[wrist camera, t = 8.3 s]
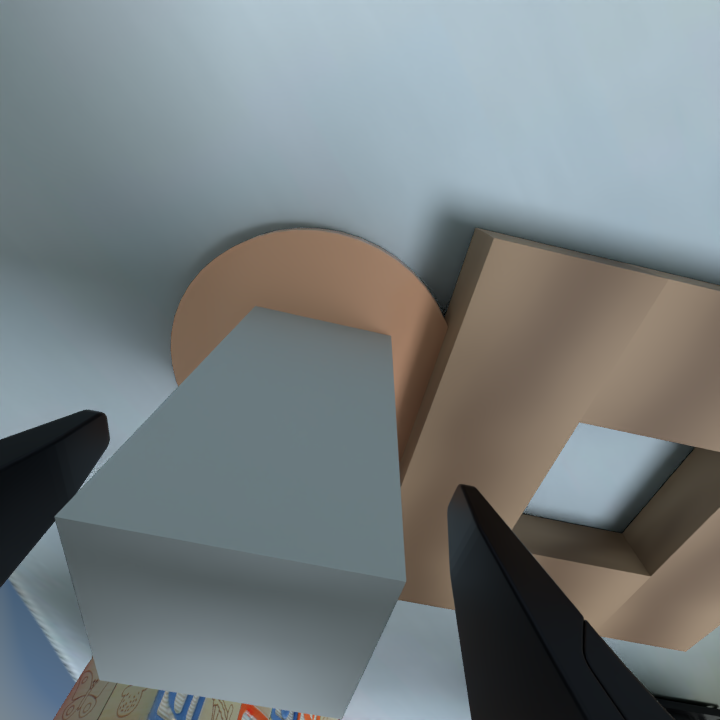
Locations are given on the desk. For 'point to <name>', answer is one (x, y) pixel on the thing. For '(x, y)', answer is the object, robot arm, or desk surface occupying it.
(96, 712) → the stack of blocks
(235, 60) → the desk surface
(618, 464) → the desk surface
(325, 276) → the coaster
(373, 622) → the block
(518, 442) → the puzzle board
